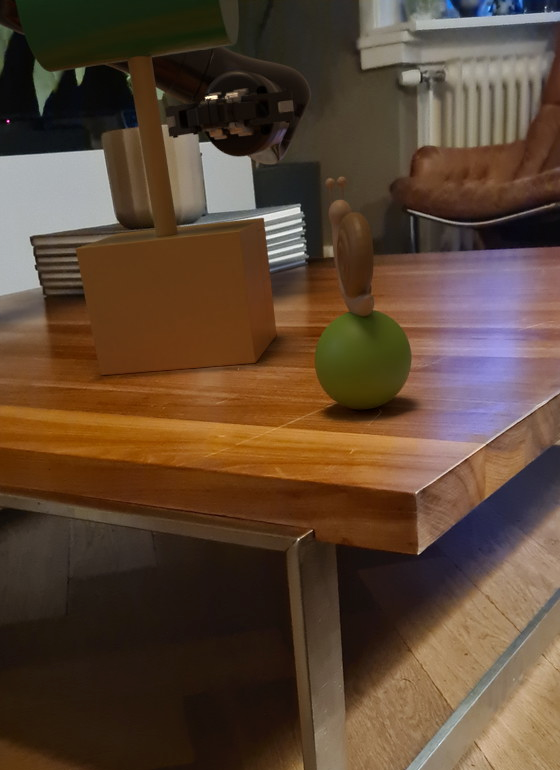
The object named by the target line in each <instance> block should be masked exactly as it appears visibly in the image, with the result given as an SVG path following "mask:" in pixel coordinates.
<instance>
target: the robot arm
mask: <svg viewBox="0 0 560 770" xmlns="http://www.w3.org/2000/svg"><path fill="white" fill-rule="evenodd" d="M0 26H2V27H4V28H7V29H8V30H11V31H13V32H16V33H18V34H21V35H24V36H25V34H24V31H23V28H22V25H21V22H20V18H19V14H18V10H17V5H16V0H0ZM151 58H152V64H153V71H154V78H155V84H156V89H158V90H159V91H162V92H163V93H165V94H167V95H169V96H170V97H173V98H174V99H176V100H178V101H179V102H182V103H183V104H179V105H175V106H174V105H168V107H165V108H164V112H165V117H166V123H167V124H166V125H167V132H168V137H169V138H171V137H172V139H176V138H177V139H178V138H179V136H185V135H192V134H193V136H195V135H199V133H202V132H203V133H204V134H205V136H206V137H207V139H208V140H209V142H210V143H211V144H212V145H213V146H214V147H215V148H216V149H217V150H218V151H220V152H221V153H223V154H225V155H228V156H230V157H240V158H241V157H242V158H243V157H248V158H249V159H251V160H253V161H255V162H256V163H257V162H258V163H260V164H263V165H275V164H277V163H279V162H281V160H282V159H283V158H284V157H285V156H286V154H287V152H288V150H289V148H290V146H291V144H292V141H293V139H294V137H295V136H296V133H297V131H298V129H299V127H300V125H301V123H302V120H303V119H304V116H305V114H306V112H307V110H308V107H309V105H310V103H311V99H312V92H311V87H310V85H309V83H308V80H307V79H306V78H305V77H304V75H303V74H302V73H300V72H299V70H297V69H295V68H293V67H291V66H288V65H285V64H282V63H276V62H272V61H268V60H263V59H259V58H258V59H257V58H254V57H250V56H247V55H244V54H240V53H238V52H234V51H232V50H230V49H229V48H226V47H219V48H212V49H205V50H198V51H192V52H185V53H178V54H171V55H164V56H158V57H151ZM104 65H105V66H108V67H111V68H113V69H116V70H118V71H120V72H123V73H126V74H128V75H130V71H129V65H128V61H124V62H117V63H110V64H104Z"/></svg>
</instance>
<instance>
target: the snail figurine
mask: <svg viewBox="0 0 560 770" xmlns="http://www.w3.org/2000/svg"><path fill="white" fill-rule="evenodd" d="M347 183H348V180H347V178H346V177H345V176H339V177H338V178H337V180H336V181H335V179H334V178H332V177H329V178H327V179H326V180H325V183H324V184H325V187H326V189H328V190H329V194H330V195H329V196H330V207H329V209H328V218H329V223H330V224H331V225H330V226H331V240H332V241H331V242H332V252H333V253H332V254H333V260H334V265H335V270H336V276H337V281H338V287H339V292H340V295H341V296H342V299H343V301H344V303H345V306H346V308H347V310H348V312H345V313H342V314H341V315H339V316H338V317H336V318H335V319H333V320H332V321H331V322H330V323H329V324H328V325H327V326H326V327H325V328H324V330H323V332H322V333H321V335H320V337H319V339H318V341H317V343H316V347H315V351H314V370H315V374H316V378H317V380H318V382H319V385H320V386H321V388H322V390H323V391H324V392H325V393H326V395H328V397H329V398H330V399H332V401H334V402H336V403H337V404H339V405H340V406H342V407H345V408H348V409H352V410H358V411H359V410H361V411H362V410H365V411H366V410H371V409H376V408H379V407H381V406H383V405H385V404H387V403H389V402H390V401H391V400H393V399H394V398H395V397H396V396H397V395H398V394H399V393H400V392H401V390H402V389H403V388H404V386H405V384H406V382H407V380H408V378H409V374H410V373H411V368H412V349H411V348H412V347H411V343H410V341H409V339H408V335H407V334H406V332H405V330H404V329H403V328H402V327H401V325H400V324H399V323H398V322H397V321H396V320H395V319H394V318H392V316H389V315H388V314H386V313H384V312H381V311H378V310H374V308H375V298H374V296H373V295H372V282H373V276H374V266H375V263H374V262H375V260H374V259H375V258H374V257H375V256H374V243H373V236H372V232H371V228H370V224H369V222H368V220H367V218H366V217H365V216H364V215H363V214H362V213H360V212H359V211H353V212H352V207H351V206H350V204H349V203H348V202H347V201H346V200H345V195H344V187H346V186H347V185H348V184H347ZM336 184H337V186H338V187H339V188H341V197H342V199H336V200H334V201H333V194H332V193H333V192H332V189H334V188H335V186H336Z"/></svg>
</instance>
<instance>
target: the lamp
mask: <svg viewBox="0 0 560 770" xmlns="http://www.w3.org/2000/svg"><path fill="white" fill-rule="evenodd" d="M16 5H17V10H18V14H19V18H20V22H21V25H22V28H23V31H24V34H25V35H24V37H25V39H26V41H27V45H28V47H29V49H30V52H31V53H32V55H33V57H34V58H35V60H36V61H37V63H38V64H39V66H40V67H41V68H42V69H43V70H44V71H46V72H49V73H55V72H56V73H57V72H62V71H69V70H75V69H81V68H89V67H94V66H95V67H96V66H102V65H103V66H104V65H105V64H110V63H117V62H124V61H128V65H129V71H130V74H129V76H130V77H129V78H130V83H131V84H130V85H131V89H132V96H133V101H134V109H135V113H136V122H137V126H138V132H139V140H140V145H141V151H142V156H143V157H142V158H143V165H144V170H145V176H146V182H147V189H148V194H149V202H150V206H151V207H150V208H151V213H152V219H153V226H154V229H147V230H138V231H130V232H128V231H127V232H120V233H116V234H113V235H111V236H107V237H105V238H102V239H99V240H96V241H93V242H90V243H87V244H85V245H82V246H79V247H76V248H75V254H76V258H77V263H78V267H79V268H78V269H79V273H80V278H81V283H82V289H83V294H84V298H85V303H86V308H87V314H88V318H89V323H90V328H91V333H92V338H93V343H94V348H95V353H96V358H97V363H98V368H99V373H100V376H110V375H111V376H112V375H113V376H114V375H124V374H125V375H126V374H134V373H135V374H136V373H148V372H149V373H150V372H159V371H160V372H161V371H174V370H186V369H198V368H199V369H200V368H213V367H223V366H224V367H225V366H235V365H249V364H256V363H257V362H258V360H259V359H260V358H261V356H262V355H263V354H264V352H265V351H266V350H267V349H268V347H270V345H271V343H272V342H273V340H274V339H275V338H276V337H277V335H278V334H277V326H276V316H275V307H274V298H273V290H272V280H271V271H270V260H269V252H268V251H269V250H268V242H267V234H266V226H265V218H264V217H257V218H256V217H255V218H248V219H238V220H229V221H221V222H220V221H219V222H210V223H203V224H192V225H185V226H184V225H183V226H178V225H177V218H176V212H175V211H176V210H175V205H174V198H173V192H172V185H171V178H170V172H169V165H168V159H167V158H168V157H167V151H166V146H165V138H164V131H163V125H162V119H161V111H160V105H159V98H158V91H157V88H156V84H155V78H154V71H153V64H152V58H151V57H158V56H164V55H171V54H178V53H185V52H192V51H198V50H205V49H212V48H219V47H224V48H226V47H233V46H235V45H236V44H237V42H238V37H239V27H240V14H239V12H240V11H239V0H16Z"/></svg>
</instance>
